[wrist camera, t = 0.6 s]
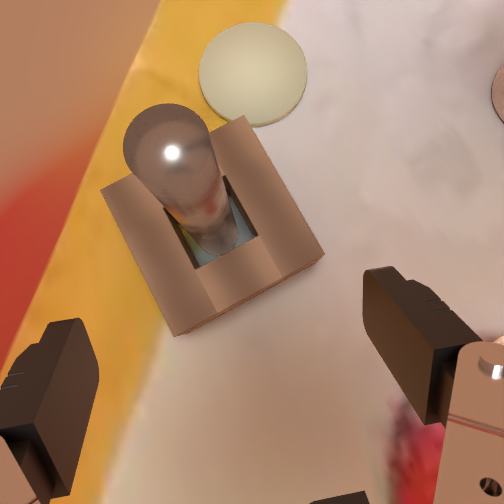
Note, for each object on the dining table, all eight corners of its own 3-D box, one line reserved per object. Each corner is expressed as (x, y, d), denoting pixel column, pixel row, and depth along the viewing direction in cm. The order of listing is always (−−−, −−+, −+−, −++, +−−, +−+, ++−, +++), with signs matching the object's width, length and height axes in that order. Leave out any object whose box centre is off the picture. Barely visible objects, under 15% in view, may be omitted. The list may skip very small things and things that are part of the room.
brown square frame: (246, 142, 42) (244, 114, 36) (315, 262, 40) (325, 254, 34) (123, 207, 41) (100, 190, 35) (187, 333, 39) (173, 336, 33)
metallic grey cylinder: (226, 208, 41) (185, 88, 19) (245, 242, 40) (225, 160, 19) (190, 227, 41) (108, 128, 19) (209, 262, 40) (146, 202, 18)
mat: (273, 11, 44) (273, 4, 43) (325, 95, 42) (327, 90, 41) (181, 58, 43) (180, 52, 42) (231, 145, 42) (230, 141, 41)
